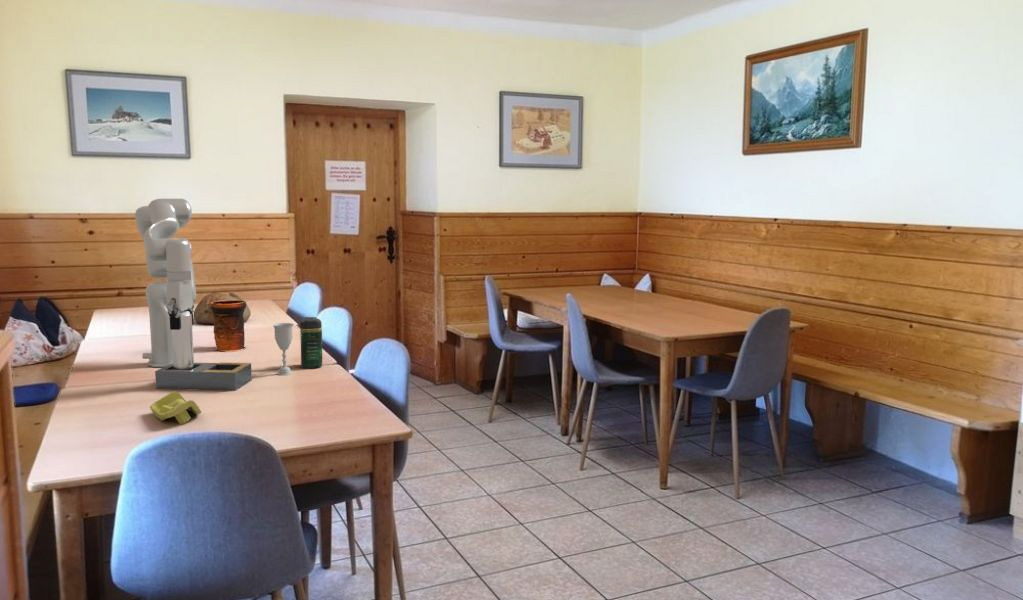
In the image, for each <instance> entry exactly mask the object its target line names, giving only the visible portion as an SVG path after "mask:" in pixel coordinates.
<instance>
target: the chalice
mask: <svg viewBox="0 0 1023 600" xmlns="http://www.w3.org/2000/svg"><path fill="white" fill-rule="evenodd" d="M272 326H273V328H274V340H275V342H276V344H277V346H278V348H279V350H280V351H282V354H281V356H282V360H281V361H282V363H283V365H282V366H281V367H280V368H279V370H278V373H277V375H278V374H279V375H278V376H290V375H292V374H293V372H292V370H291V368H290V366H287V362H288V360H287V352H286V351H287V350H288V349H289V347H290V345H291V344H292V341H293V337H294V336H293V326H294V323H289V322H279V323H273V324H272ZM289 374H290V375H289Z"/></svg>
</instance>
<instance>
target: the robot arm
mask: <svg viewBox="0 0 1023 600" xmlns="http://www.w3.org/2000/svg"><path fill="white" fill-rule="evenodd" d="M134 214H135V215H134V219H135V224H136V228H137V231H138V233H139V235H140V237H141V238H142V241H143V245H144V253H145V261H146V268H147V273H148V275H149V276H150V278H153V279H167V280H163V281H162V280H159V281H153V282H150V283H149V284H148V285H147V286H146V287H145V297H146V302H147V306H148V308H147V309H148V313H149V315H148V316H149V329H150V330H149V331H150V345H151V348H150V350H151V352H143V353H142V357H141V358H142V359H145V360H146V359H148V361H147V366H148V367H152V368H163V367H166V366H168V365H170V364H172V363H174V362H173V343H172V330H179V329H180V318H178V317H179V313H180V311H189V312H190V314H192V326H193V325H194V324H195V323H194V322H195V320H194V311H195V309H194V308H195V306H194V304H195V303H196V301H197V288H196V281H195V272H194V271H195V270H194V264H193V259H192V257H191V255H192V252H193V251H192V250H193V248H192V244H191V242H190V241H189V240H188V239H187V238H183V237H175V238H174V237H173V236H175V235H176V234H177V233H178V231H179V229H181V228H184V227H186V225H187V224H188V223H189V222H190V221H191V219H192V215H193V212H192V207H191V205H190V202H189V201H188V200H186V198H185V199H184V198H156V199H153V200H151V201H150V202H149V203H148V205H144V206H141V207H138V208H137V209H136V210H135V213H134ZM175 312H176V313H175Z"/></svg>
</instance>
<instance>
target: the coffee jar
mask: <svg viewBox="0 0 1023 600" xmlns="http://www.w3.org/2000/svg"><path fill="white" fill-rule="evenodd" d="M299 322H300V325H299V327H300V359H301V360H300V364H301V365H300V366H301V367H302V368H303V369H306V368H307V369H316V368H321V367H322V366H323V330H322V329H323V327H322V321H321V319H319V318H317V317H316V316H306V317H304V318H302V319H301V320H300V321H299Z"/></svg>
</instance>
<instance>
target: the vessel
mask: <svg viewBox="0 0 1023 600" xmlns="http://www.w3.org/2000/svg"><path fill="white" fill-rule="evenodd" d="M246 304H247V301H245V300H244V301H239V300H220V301H214V302H211V303H210V308H211V309H212V311H213V315H214V324H213V334H214V337H213V338H214V341H215V346H216V347H215V348H216V349H215V348H214V350H215V351H221V352H225V353H226V352H228V351H229V353H230V352H240V350H241V349H244V348H245V347H246V346H245V342H246V341H245V339H246V338H245V322H244V317H243V313H244V310H245V308H246ZM244 346H245V347H244ZM245 349H246V348H245ZM245 349H244V350H245ZM241 351H242V350H241Z"/></svg>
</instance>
